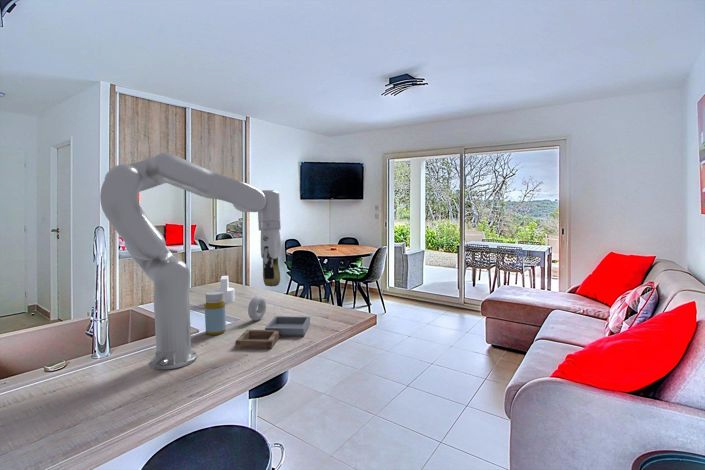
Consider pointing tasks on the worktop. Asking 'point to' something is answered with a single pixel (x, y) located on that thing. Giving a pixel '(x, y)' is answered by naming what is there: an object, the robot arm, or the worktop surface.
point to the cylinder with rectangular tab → (226, 290)
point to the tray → (289, 325)
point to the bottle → (215, 313)
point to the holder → (258, 344)
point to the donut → (252, 309)
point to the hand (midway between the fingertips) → (271, 276)
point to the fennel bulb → (276, 274)
